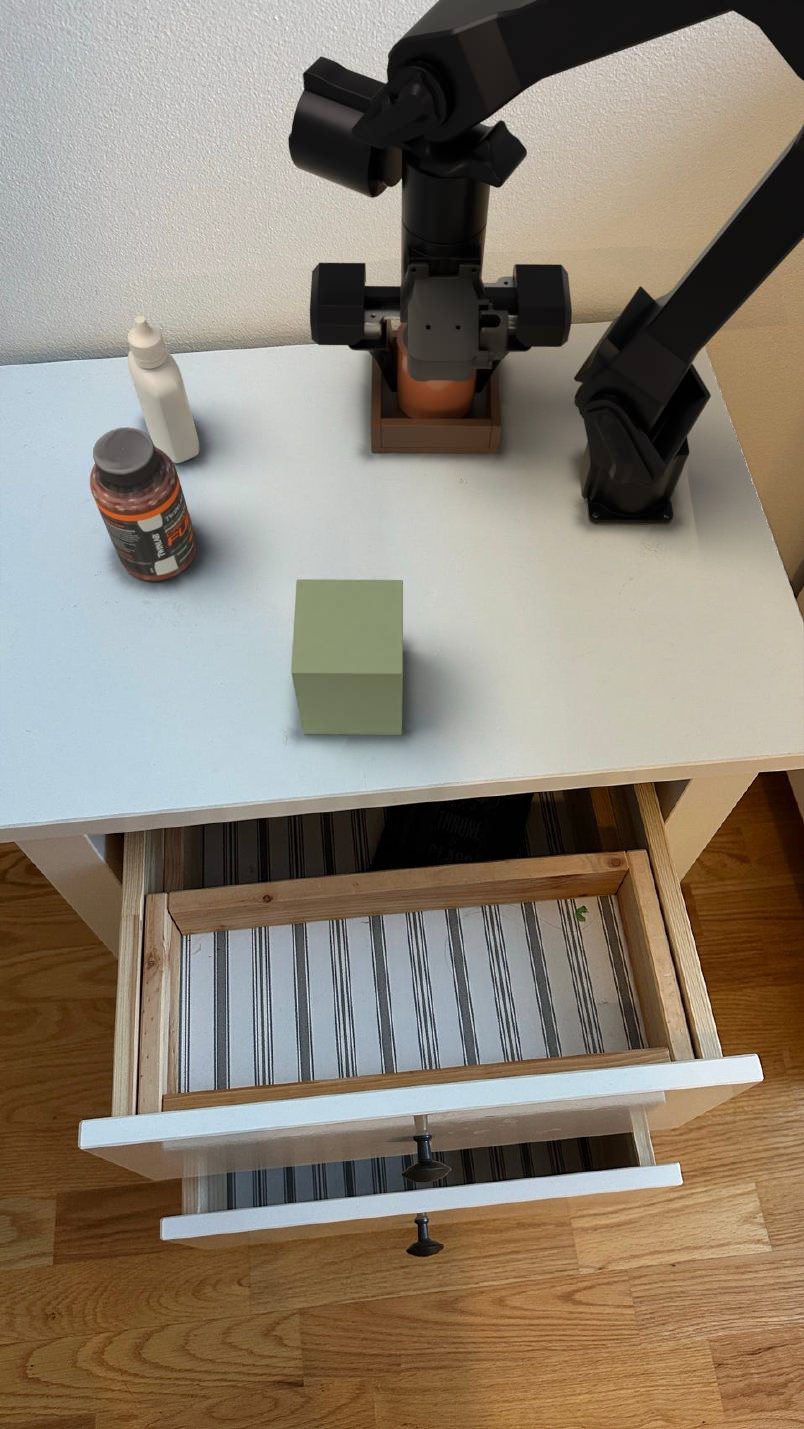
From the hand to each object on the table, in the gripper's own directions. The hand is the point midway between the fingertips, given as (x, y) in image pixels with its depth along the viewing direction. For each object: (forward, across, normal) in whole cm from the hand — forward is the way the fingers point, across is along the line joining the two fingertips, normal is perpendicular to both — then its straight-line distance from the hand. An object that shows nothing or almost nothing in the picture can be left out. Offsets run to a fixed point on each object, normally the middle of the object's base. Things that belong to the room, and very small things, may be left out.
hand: (435, 388), depth 79 cm
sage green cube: (+2, -6, -27) cm, 27 cm away
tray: (+2, 0, 0) cm, 2 cm away
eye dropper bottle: (+2, -21, -4) cm, 21 cm away
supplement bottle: (+2, -21, -15) cm, 26 cm away
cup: (+1, 0, 0) cm, 1 cm away
